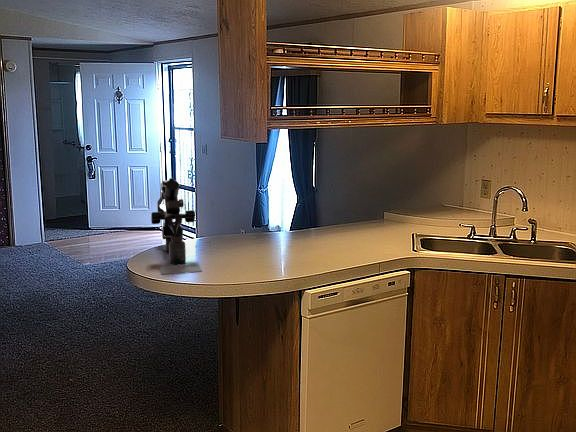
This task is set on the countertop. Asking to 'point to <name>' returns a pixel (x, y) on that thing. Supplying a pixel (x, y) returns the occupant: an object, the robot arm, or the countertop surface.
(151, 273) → the countertop surface
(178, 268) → the metal sheet
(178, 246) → the supplement bottle
